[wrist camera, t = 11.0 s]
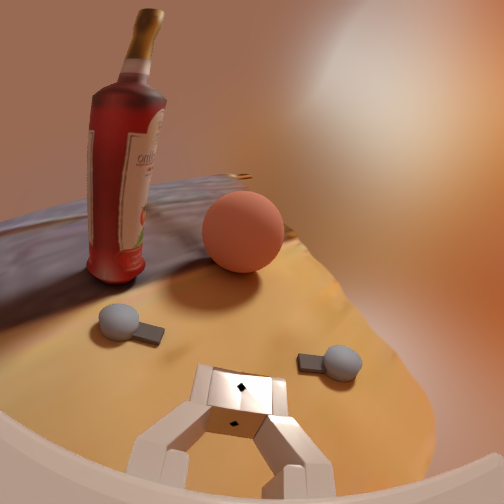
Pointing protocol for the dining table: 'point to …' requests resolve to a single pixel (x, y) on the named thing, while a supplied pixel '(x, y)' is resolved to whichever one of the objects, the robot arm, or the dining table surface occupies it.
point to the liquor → (123, 159)
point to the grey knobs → (128, 326)
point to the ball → (243, 231)
